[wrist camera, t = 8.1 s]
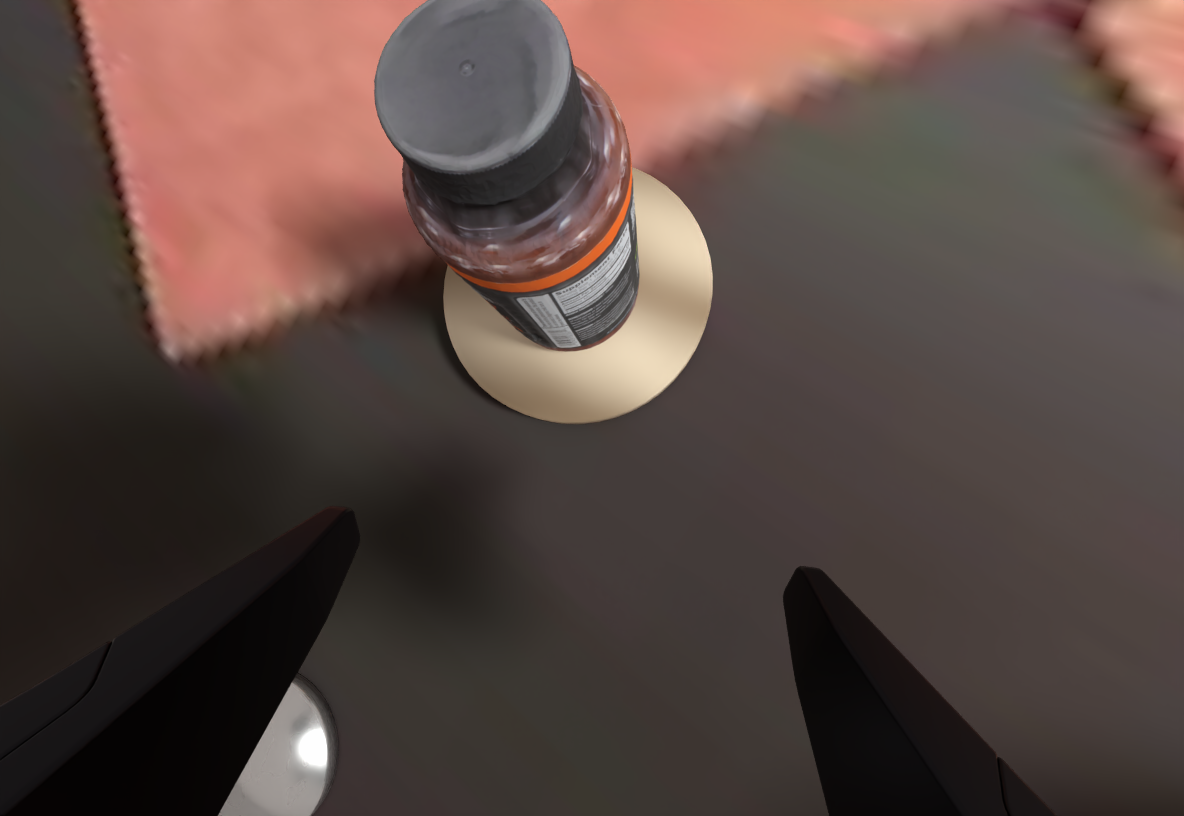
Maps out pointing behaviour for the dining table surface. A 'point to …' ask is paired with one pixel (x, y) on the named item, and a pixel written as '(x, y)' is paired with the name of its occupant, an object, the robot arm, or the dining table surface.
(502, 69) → the supplement bottle
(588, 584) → the dining table surface
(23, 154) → the dining table surface
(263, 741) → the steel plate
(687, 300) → the coaster
